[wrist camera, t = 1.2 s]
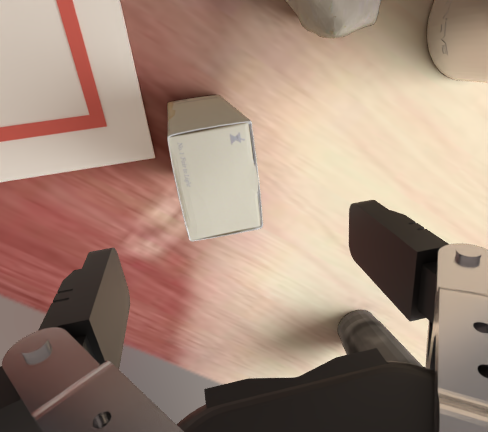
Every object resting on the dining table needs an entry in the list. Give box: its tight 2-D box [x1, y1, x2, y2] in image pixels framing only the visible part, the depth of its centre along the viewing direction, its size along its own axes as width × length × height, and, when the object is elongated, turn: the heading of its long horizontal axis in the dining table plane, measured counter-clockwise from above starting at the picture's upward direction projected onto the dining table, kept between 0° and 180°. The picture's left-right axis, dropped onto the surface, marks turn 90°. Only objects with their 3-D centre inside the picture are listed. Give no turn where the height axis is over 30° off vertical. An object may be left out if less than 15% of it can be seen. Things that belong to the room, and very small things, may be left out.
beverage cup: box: [338, 310, 423, 367], centre depth 32 cm, size 7×7×20 cm
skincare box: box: [167, 95, 263, 241], centre depth 24 cm, size 6×4×12 cm
